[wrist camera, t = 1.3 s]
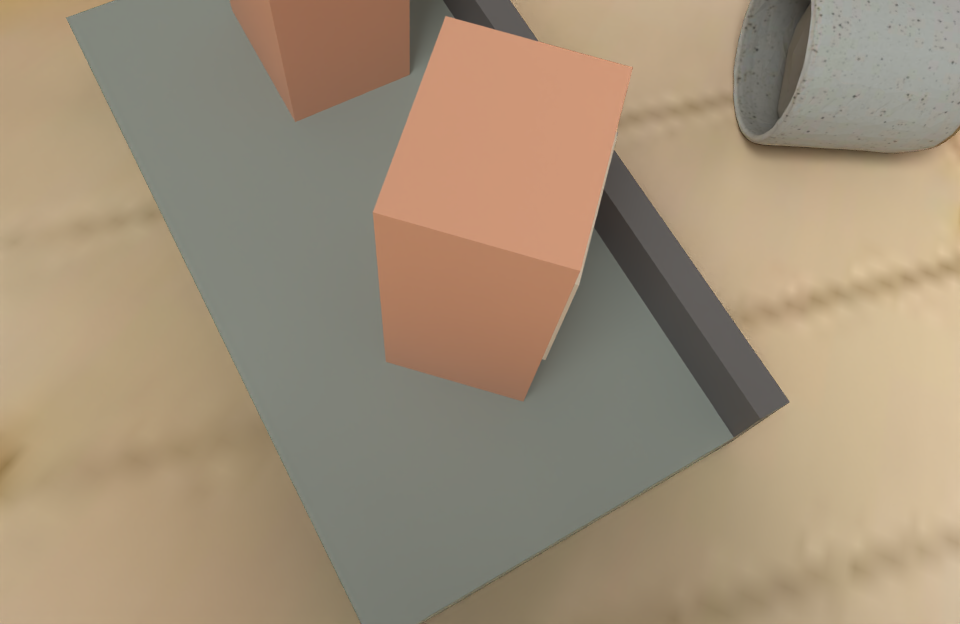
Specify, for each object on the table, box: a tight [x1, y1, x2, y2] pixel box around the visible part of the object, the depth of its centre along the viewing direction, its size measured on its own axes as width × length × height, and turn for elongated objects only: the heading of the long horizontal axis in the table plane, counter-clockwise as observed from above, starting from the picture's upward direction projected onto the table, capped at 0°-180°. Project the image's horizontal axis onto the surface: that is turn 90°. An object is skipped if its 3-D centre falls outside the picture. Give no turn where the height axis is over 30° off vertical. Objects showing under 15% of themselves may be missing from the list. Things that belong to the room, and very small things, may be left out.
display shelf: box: [66, 0, 789, 624], centre depth 33 cm, size 16×27×6 cm, turn 29°
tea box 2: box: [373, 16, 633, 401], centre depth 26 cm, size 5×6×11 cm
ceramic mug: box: [734, 0, 960, 153], centre depth 37 cm, size 11×8×8 cm
